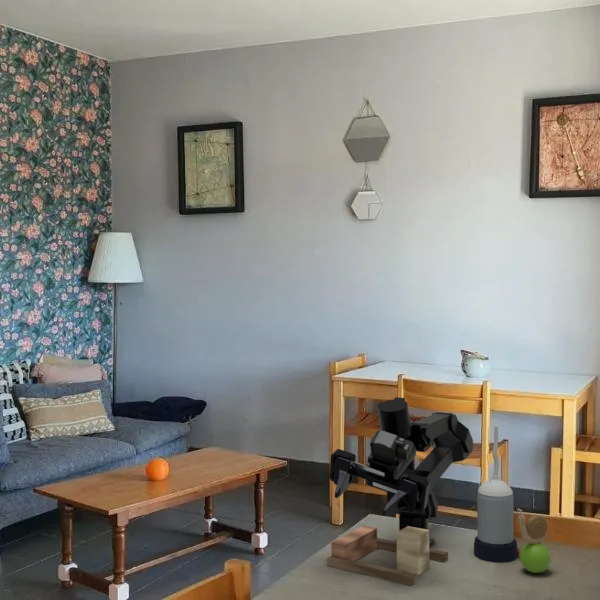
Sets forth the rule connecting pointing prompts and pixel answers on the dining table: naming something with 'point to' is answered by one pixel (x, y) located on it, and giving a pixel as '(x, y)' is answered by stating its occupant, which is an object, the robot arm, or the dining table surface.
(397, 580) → the guide track
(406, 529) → the block
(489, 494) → the humidifier
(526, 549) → the snail figurine
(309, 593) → the dining table surface
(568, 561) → the dining table surface
